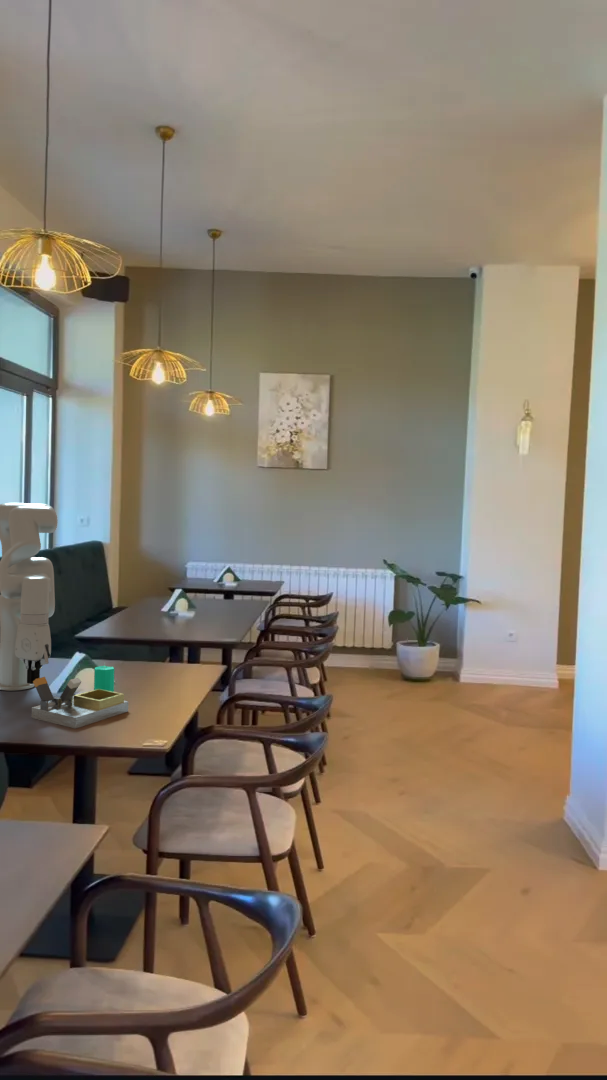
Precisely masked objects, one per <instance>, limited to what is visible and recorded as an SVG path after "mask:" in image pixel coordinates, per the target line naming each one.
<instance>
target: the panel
mask: <svg viewBox="0 0 607 1080" xmlns="http://www.w3.org/2000/svg"><path fill="white" fill-rule="evenodd" d="M53 697H54V700H53V701H52V702H55V703H56V705H55V706H53V707H49V708H48V702H47V701H43V700H42V701H41V700H40V702H39V703H40V704H38V705H36V706H32V707H31V718H32V719H34V720H35V719H36V720H39V721H43V722H46V723H51V724H56V725H59V726H64V727H67V728H71V729H74V730H75V729H78V728H82V727H84V726H87V725H90V724H91V725H92V724H93V723H94V724H95V723H96V722H97V723H98V722H100V721H103V720H106V719H108V718H112V717H115V716H118V715H121V714H124V713H125V714H126V713H127V712H129V701H127V700H125V694H124V693H121V692H117V691H114V692H113V691H108V690H103V689H95V690H94V689H92V690H89V691H85V692H81V693H77V694H74V695H73V696H72V698H71V700H69V702H67V703H63V704H62V698H60V696H53ZM49 703H51V702H49Z"/></svg>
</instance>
